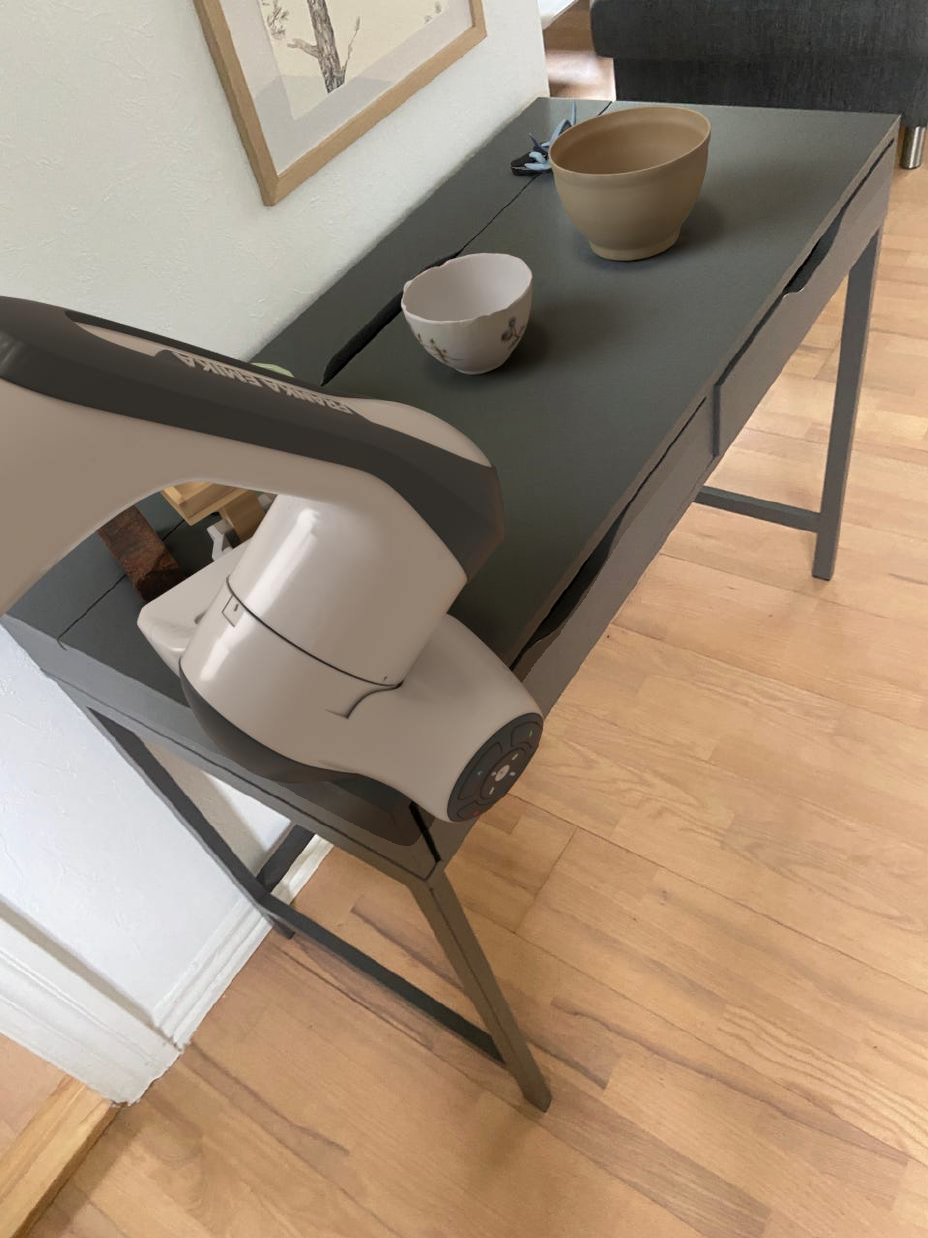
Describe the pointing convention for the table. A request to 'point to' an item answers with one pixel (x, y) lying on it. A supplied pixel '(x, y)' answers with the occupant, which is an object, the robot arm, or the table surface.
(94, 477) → the robot arm
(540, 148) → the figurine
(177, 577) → the brick
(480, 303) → the teacup
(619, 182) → the planter bowl
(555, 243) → the table surface
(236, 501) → the wooden pedestal tray
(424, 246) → the table surface
